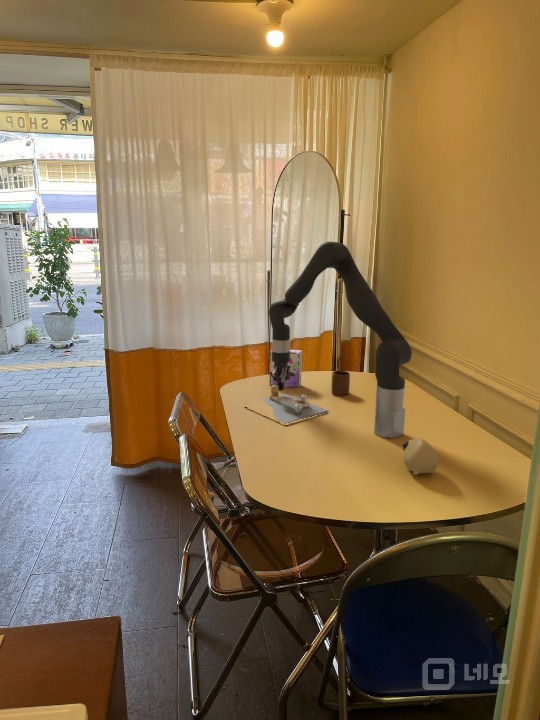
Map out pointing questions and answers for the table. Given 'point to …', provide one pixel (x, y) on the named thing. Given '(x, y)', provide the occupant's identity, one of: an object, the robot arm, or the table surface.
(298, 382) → the candy box
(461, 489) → the table surface
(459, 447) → the table surface
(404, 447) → the cream rounded piece
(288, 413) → the base plate
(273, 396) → the link
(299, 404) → the keeper
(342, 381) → the mug
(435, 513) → the table surface
